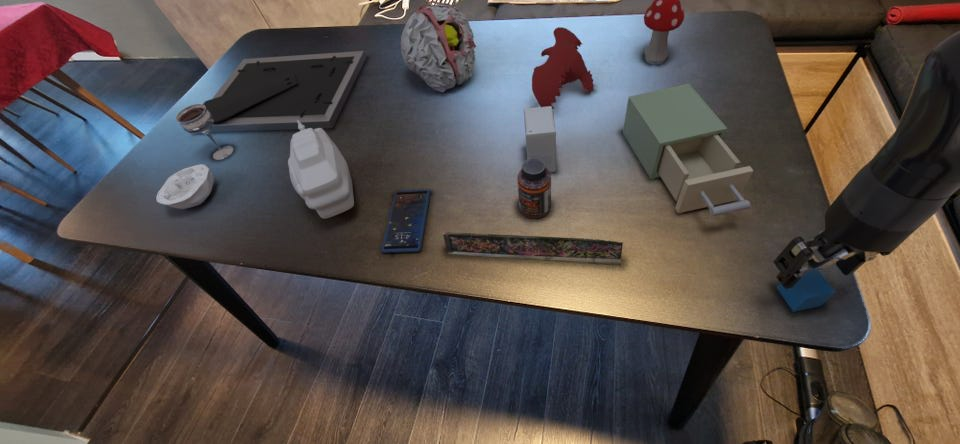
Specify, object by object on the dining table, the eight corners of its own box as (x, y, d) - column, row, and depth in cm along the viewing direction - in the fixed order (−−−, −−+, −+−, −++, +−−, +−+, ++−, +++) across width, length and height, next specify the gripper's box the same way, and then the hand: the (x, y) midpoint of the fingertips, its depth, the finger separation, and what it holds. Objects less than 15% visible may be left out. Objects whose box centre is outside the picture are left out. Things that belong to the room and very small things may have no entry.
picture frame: (196, 133, 112) (332, 128, 105) (187, 122, 109) (326, 116, 102) (247, 65, 130) (366, 58, 123) (240, 54, 127) (362, 46, 120)
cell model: (233, 184, 97) (214, 163, 92) (191, 224, 91) (169, 203, 85) (203, 174, 101) (184, 153, 95) (162, 211, 94) (139, 191, 89)
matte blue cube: (821, 306, 62) (836, 292, 59) (793, 312, 62) (806, 298, 59) (802, 281, 65) (816, 267, 62) (775, 287, 65) (787, 273, 62)
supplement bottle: (515, 216, 80) (510, 174, 71) (525, 193, 83) (522, 150, 75) (545, 223, 78) (545, 181, 70) (555, 199, 82) (555, 156, 73)
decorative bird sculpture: (585, 70, 113) (547, 27, 107) (614, 50, 105) (575, 3, 100) (557, 141, 97) (511, 95, 92) (588, 123, 90) (541, 73, 85)
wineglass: (239, 154, 104) (207, 114, 94) (211, 166, 102) (176, 127, 93) (234, 139, 108) (203, 99, 98) (207, 151, 106) (174, 112, 97)
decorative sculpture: (424, 112, 116) (430, 89, 96) (385, 43, 114) (382, 5, 94) (482, 82, 119) (499, 53, 99) (445, 14, 117) (455, -29, 97)
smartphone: (430, 188, 86) (420, 250, 77) (431, 191, 87) (421, 252, 78) (394, 190, 87) (380, 251, 78) (395, 193, 88) (381, 254, 79)
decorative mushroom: (673, 70, 101) (689, 6, 89) (635, 68, 103) (645, 6, 91) (674, 47, 106) (690, -16, 94) (638, 46, 109) (648, -16, 97)
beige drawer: (754, 221, 72) (772, 192, 66) (691, 235, 72) (703, 207, 66) (701, 151, 83) (712, 121, 77) (647, 163, 83) (654, 134, 77)
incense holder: (447, 254, 77) (440, 237, 73) (448, 248, 78) (442, 231, 74) (620, 265, 71) (624, 247, 67) (620, 258, 72) (624, 240, 67)
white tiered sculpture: (350, 162, 96) (320, 104, 84) (370, 216, 85) (339, 159, 73) (303, 181, 94) (265, 124, 82) (317, 239, 83) (276, 184, 71)
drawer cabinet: (712, 165, 81) (727, 128, 74) (650, 179, 81) (659, 143, 74) (678, 120, 90) (689, 83, 83) (622, 132, 90) (628, 96, 83)
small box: (556, 172, 86) (556, 132, 77) (528, 175, 86) (525, 135, 78) (552, 145, 91) (552, 104, 82) (526, 148, 91) (523, 107, 83)
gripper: (845, 244, 44) (780, 311, 57) (978, 213, 45) (882, 288, 57) (799, 192, 49) (748, 265, 62) (919, 164, 49) (843, 243, 62)
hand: (813, 276), depth 60 cm, fingers open, 8 cm apart
